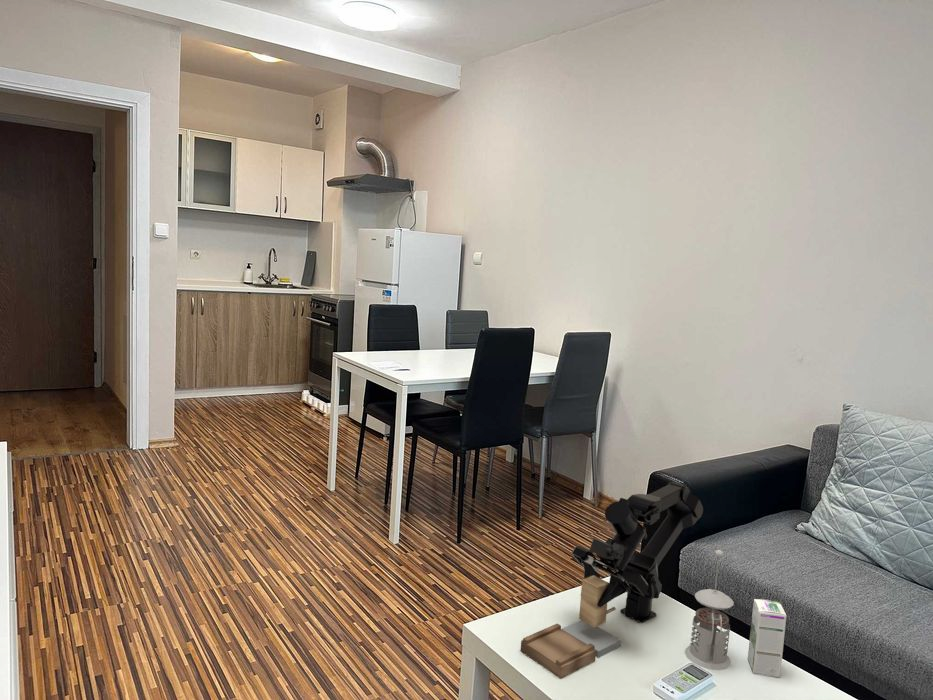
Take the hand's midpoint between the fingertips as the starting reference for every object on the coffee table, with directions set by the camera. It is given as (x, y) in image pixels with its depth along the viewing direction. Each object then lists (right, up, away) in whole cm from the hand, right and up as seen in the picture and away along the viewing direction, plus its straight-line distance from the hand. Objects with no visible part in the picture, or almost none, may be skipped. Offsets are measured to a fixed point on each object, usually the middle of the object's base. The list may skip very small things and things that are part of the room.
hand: (590, 601), depth 152 cm
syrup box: (+37, -13, -5) cm, 39 cm away
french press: (+26, -12, -3) cm, 29 cm away
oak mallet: (+3, -5, +3) cm, 7 cm away
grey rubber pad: (0, -10, +2) cm, 10 cm away
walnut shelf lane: (-8, -10, -5) cm, 14 cm away
